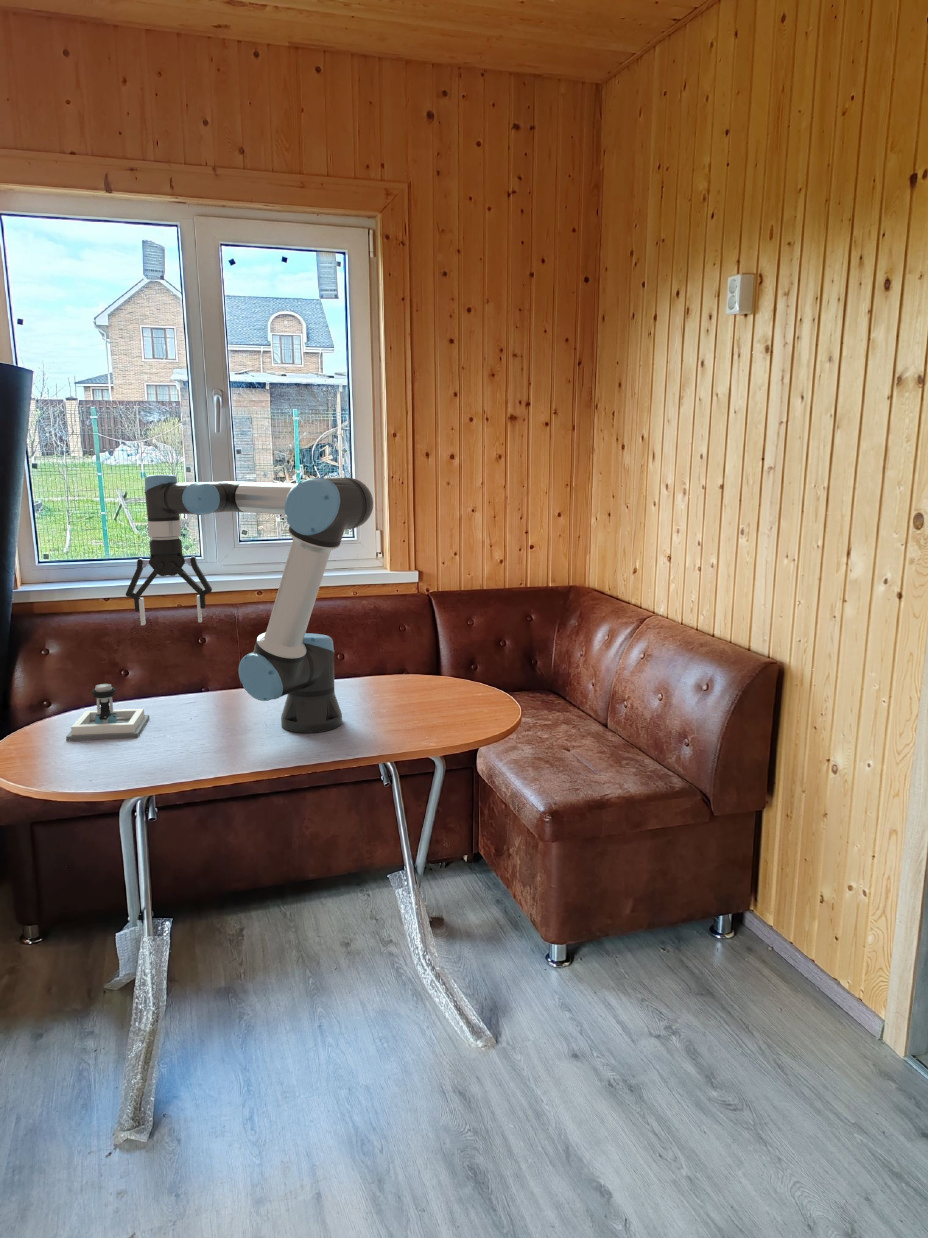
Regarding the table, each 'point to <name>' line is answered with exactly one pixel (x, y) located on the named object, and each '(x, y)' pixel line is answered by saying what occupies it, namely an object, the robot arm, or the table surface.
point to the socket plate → (109, 726)
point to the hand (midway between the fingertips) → (172, 623)
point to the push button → (105, 704)
